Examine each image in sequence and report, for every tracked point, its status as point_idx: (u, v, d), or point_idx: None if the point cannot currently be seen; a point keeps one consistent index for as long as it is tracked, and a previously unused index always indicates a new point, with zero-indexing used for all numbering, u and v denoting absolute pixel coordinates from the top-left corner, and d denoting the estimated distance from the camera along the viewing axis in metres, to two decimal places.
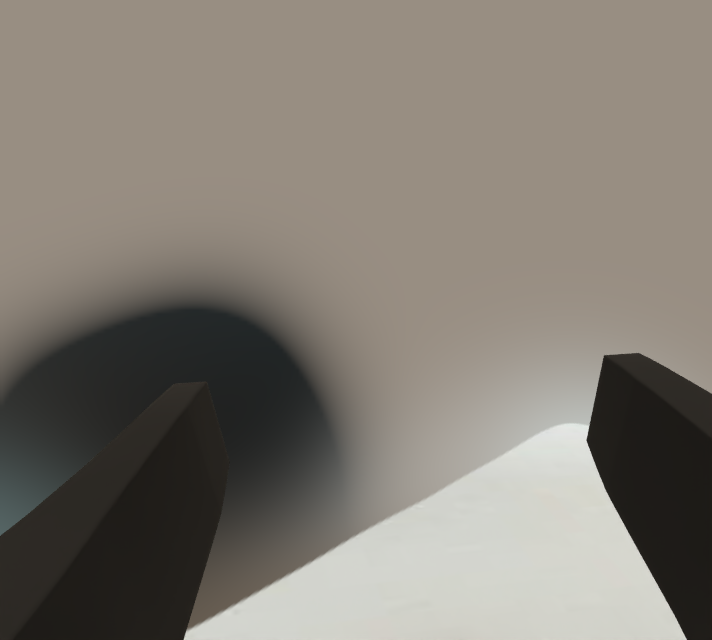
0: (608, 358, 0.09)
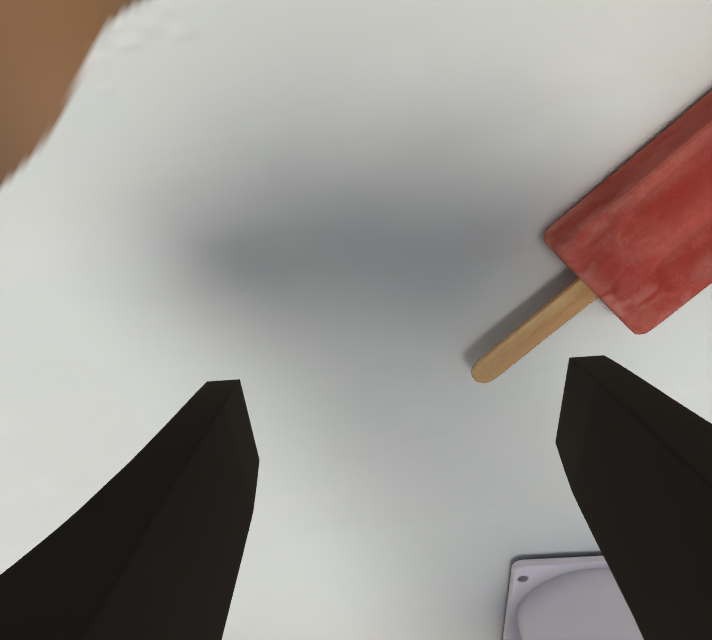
0: (574, 361, 0.09)
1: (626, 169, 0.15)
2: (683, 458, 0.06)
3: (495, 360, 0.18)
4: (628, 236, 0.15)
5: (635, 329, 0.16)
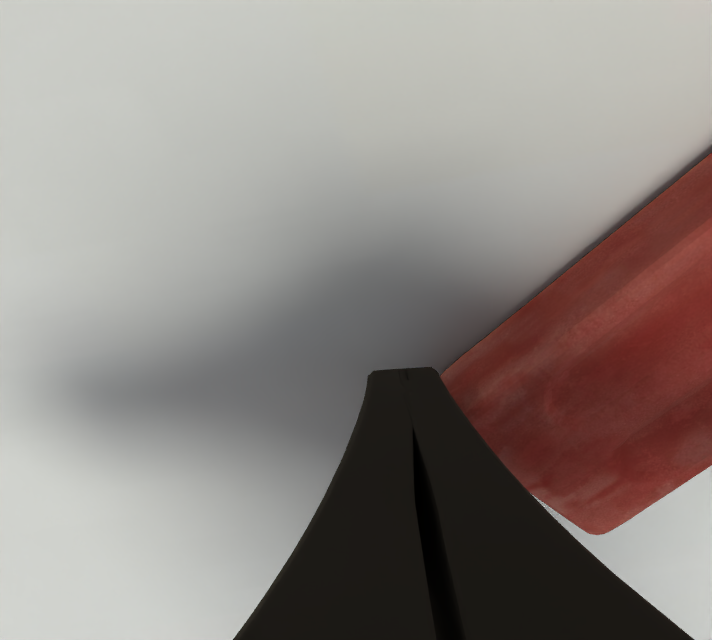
0: (398, 372, 0.09)
1: (559, 290, 0.09)
2: (432, 473, 0.06)
3: None
4: (562, 407, 0.09)
5: (585, 529, 0.10)
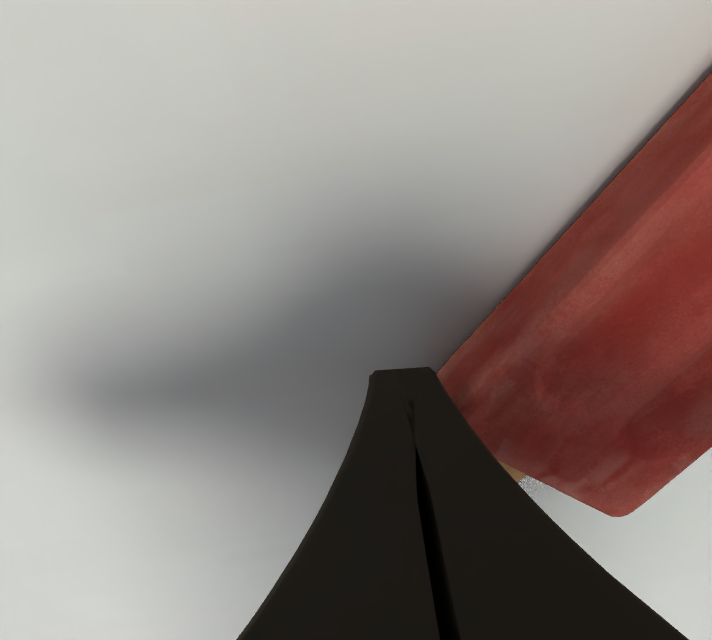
0: (396, 372, 0.09)
1: (537, 276, 0.09)
2: (428, 473, 0.06)
3: None
4: (556, 393, 0.09)
5: (606, 512, 0.10)
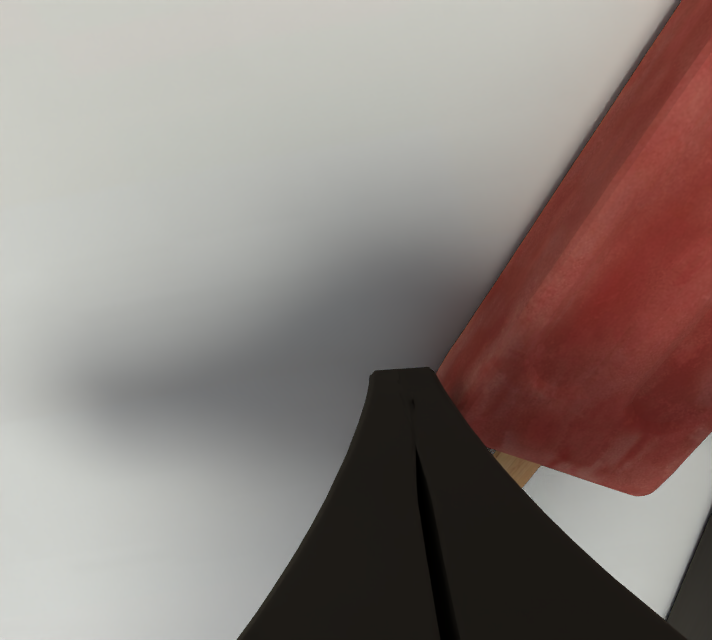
0: (396, 372, 0.09)
1: (516, 264, 0.09)
2: (428, 473, 0.06)
3: None
4: (551, 380, 0.08)
5: (629, 492, 0.10)
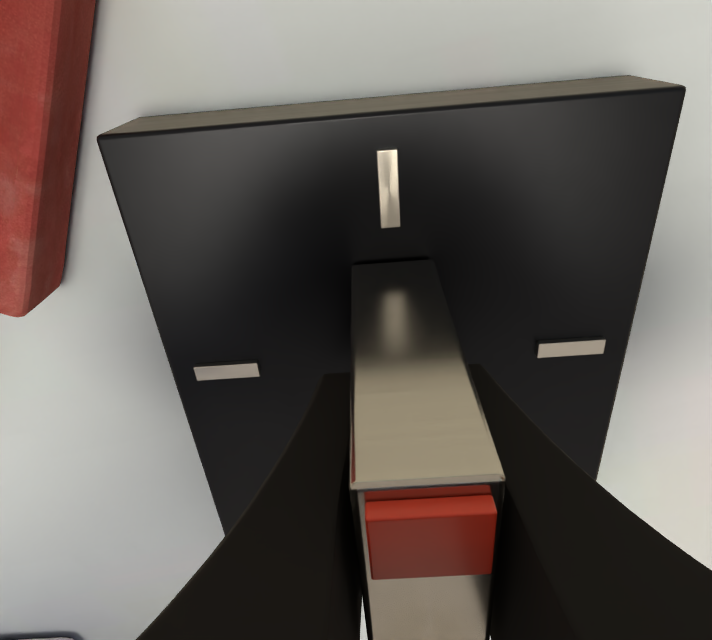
0: None
1: None
2: None
3: None
4: None
5: (0, 311, 0.11)
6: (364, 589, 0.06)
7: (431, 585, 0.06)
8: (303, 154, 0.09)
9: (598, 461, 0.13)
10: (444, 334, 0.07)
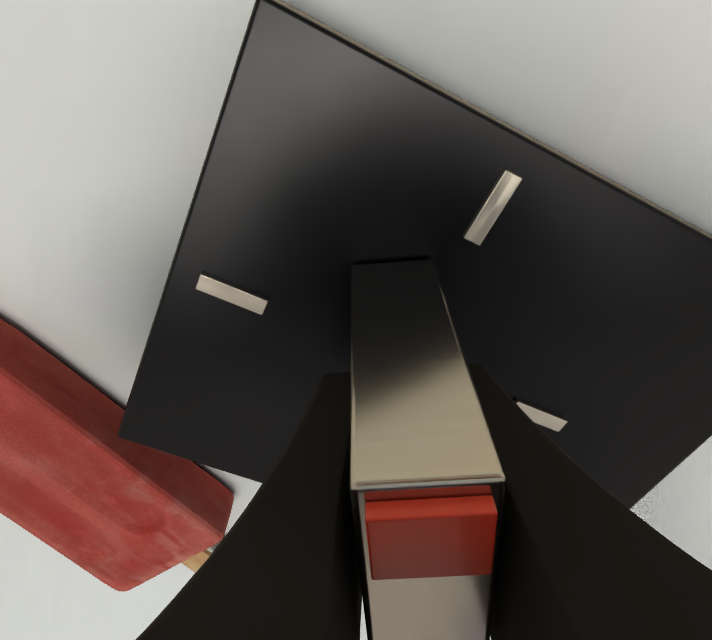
0: None
1: None
2: None
3: None
4: (103, 551, 0.15)
5: (211, 544, 0.15)
6: (364, 589, 0.06)
7: (430, 586, 0.06)
8: (180, 333, 0.11)
9: (685, 229, 0.10)
10: (444, 334, 0.07)
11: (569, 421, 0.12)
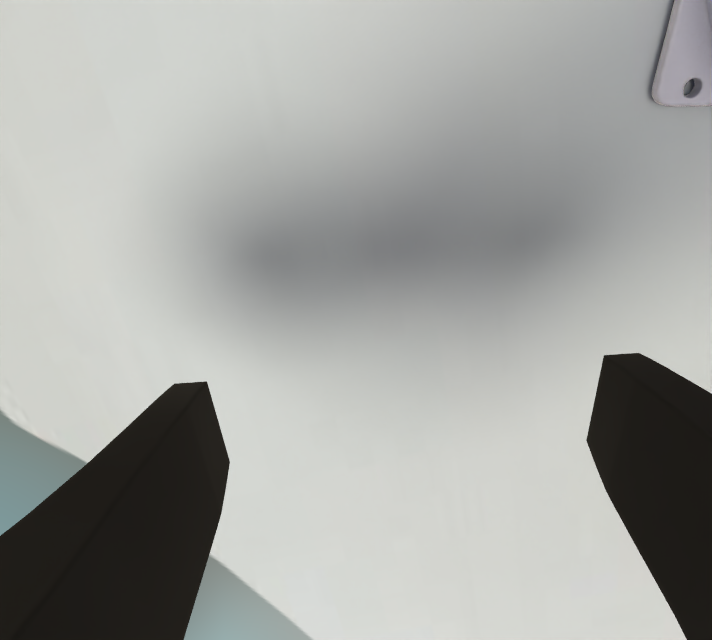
0: (609, 358, 0.09)
1: None
2: None
3: None
4: None
5: None
6: None
7: None
8: None
9: None
10: None
11: None
